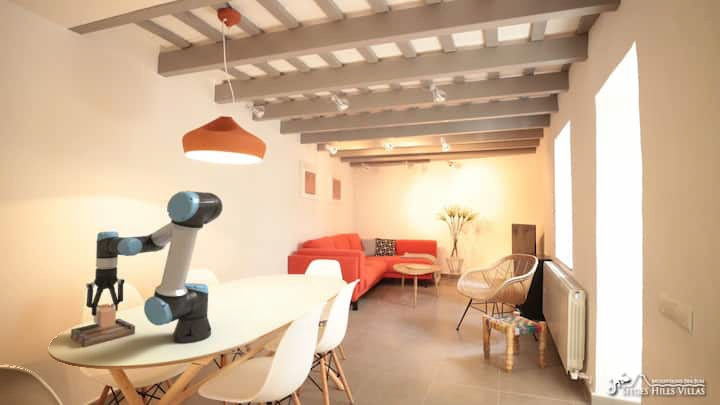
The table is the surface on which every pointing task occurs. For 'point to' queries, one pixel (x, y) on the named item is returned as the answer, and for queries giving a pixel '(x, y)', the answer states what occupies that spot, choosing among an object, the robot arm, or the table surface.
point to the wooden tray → (102, 333)
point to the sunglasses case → (106, 315)
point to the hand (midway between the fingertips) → (104, 320)
